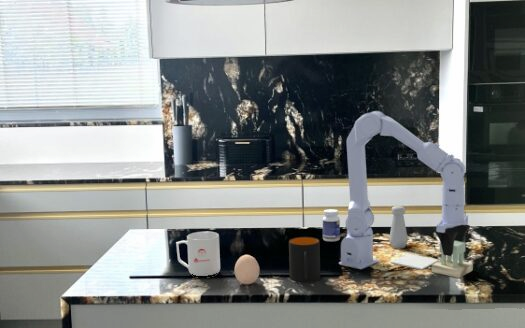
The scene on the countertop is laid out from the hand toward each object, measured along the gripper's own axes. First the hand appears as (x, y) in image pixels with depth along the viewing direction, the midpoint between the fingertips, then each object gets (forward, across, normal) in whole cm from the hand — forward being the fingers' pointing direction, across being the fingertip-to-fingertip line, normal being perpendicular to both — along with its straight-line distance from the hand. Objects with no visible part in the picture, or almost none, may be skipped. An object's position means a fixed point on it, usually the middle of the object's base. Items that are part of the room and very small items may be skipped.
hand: (452, 252), depth 162 cm
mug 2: (+5, -30, +27) cm, 41 cm away
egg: (+5, -42, +37) cm, 57 cm away
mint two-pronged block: (+3, 0, 0) cm, 3 cm away
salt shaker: (+5, +12, +24) cm, 27 cm away
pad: (+5, +1, +12) cm, 13 cm away
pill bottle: (+5, +6, +46) cm, 47 cm away
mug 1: (+5, -45, +54) cm, 70 cm away
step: (+5, 0, 0) cm, 5 cm away
